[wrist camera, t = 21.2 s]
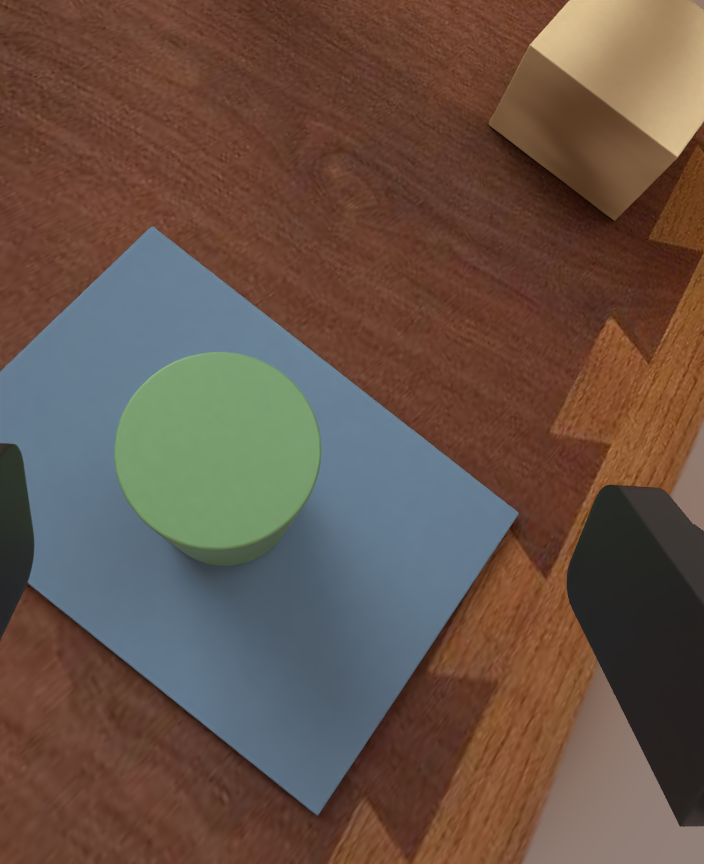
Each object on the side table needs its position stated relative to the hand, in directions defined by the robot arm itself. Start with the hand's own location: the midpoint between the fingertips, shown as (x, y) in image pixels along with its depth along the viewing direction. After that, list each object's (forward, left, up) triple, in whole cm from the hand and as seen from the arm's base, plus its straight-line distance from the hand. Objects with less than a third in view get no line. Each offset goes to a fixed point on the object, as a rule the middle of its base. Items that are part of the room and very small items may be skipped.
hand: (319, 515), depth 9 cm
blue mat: (+3, -1, -17) cm, 18 cm away
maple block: (+1, -28, -17) cm, 33 cm away
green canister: (+3, -1, -17) cm, 17 cm away
